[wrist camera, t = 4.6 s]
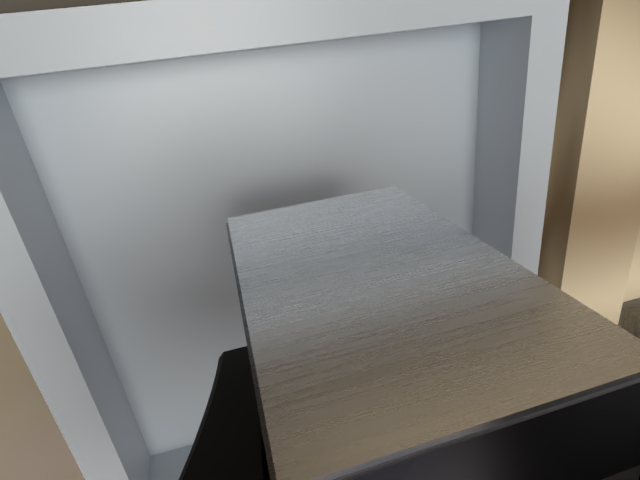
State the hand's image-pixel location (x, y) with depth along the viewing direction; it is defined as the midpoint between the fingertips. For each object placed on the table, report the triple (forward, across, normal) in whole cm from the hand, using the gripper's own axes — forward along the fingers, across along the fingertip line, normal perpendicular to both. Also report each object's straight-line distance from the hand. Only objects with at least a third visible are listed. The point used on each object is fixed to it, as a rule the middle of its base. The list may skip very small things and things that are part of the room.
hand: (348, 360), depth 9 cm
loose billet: (+2, 0, 0) cm, 2 cm away
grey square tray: (+5, 0, 0) cm, 5 cm away
